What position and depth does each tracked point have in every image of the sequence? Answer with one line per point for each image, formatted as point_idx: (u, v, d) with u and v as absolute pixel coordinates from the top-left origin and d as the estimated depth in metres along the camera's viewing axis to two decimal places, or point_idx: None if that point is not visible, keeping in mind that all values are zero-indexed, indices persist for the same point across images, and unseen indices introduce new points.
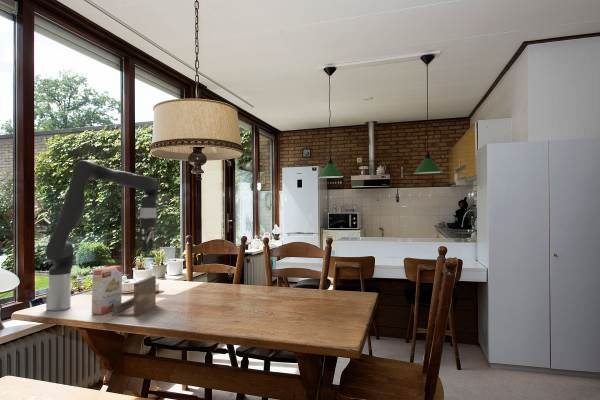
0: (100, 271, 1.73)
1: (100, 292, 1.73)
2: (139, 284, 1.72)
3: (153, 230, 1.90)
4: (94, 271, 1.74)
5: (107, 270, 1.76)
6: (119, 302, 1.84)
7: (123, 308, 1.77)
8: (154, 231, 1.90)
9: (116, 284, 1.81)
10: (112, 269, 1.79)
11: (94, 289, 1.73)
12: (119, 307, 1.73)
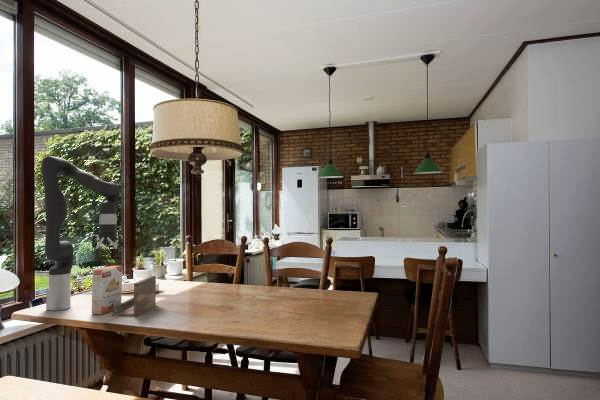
0: (100, 271, 1.73)
1: (100, 292, 1.73)
2: (139, 284, 1.72)
3: None
4: (94, 271, 1.74)
5: (107, 270, 1.76)
6: (119, 302, 1.84)
7: (123, 308, 1.77)
8: None
9: (116, 284, 1.81)
10: (112, 269, 1.79)
11: (94, 289, 1.73)
12: (119, 307, 1.73)
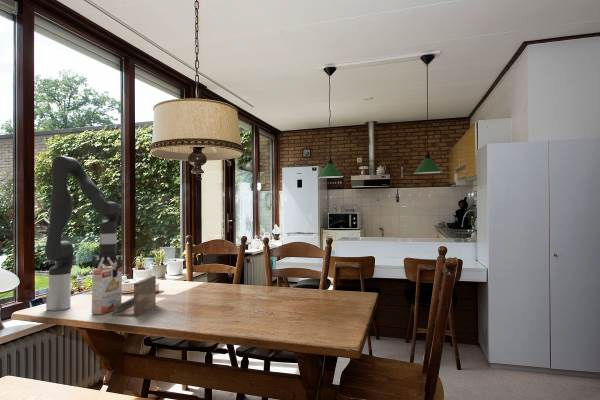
0: (100, 271, 1.73)
1: (100, 292, 1.73)
2: (139, 284, 1.72)
3: None
4: (94, 271, 1.74)
5: (107, 270, 1.76)
6: (119, 302, 1.84)
7: (123, 308, 1.77)
8: None
9: (116, 284, 1.81)
10: (112, 269, 1.79)
11: (94, 289, 1.73)
12: (119, 307, 1.73)
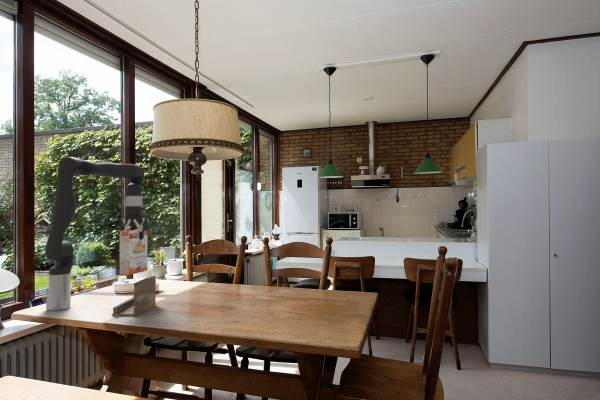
0: (127, 232, 1.74)
1: (128, 253, 1.74)
2: (139, 284, 1.72)
3: None
4: (121, 232, 1.75)
5: (134, 231, 1.77)
6: (145, 265, 1.85)
7: (123, 308, 1.77)
8: None
9: (142, 247, 1.82)
10: (138, 231, 1.80)
11: (121, 250, 1.74)
12: (119, 307, 1.73)
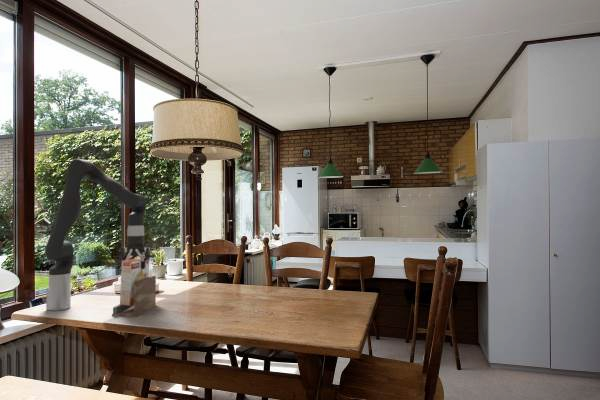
0: (129, 262, 1.74)
1: (129, 283, 1.73)
2: (139, 284, 1.72)
3: None
4: (123, 262, 1.74)
5: (136, 261, 1.77)
6: None
7: (123, 308, 1.77)
8: None
9: (143, 276, 1.82)
10: (140, 261, 1.80)
11: (123, 280, 1.74)
12: (119, 307, 1.73)
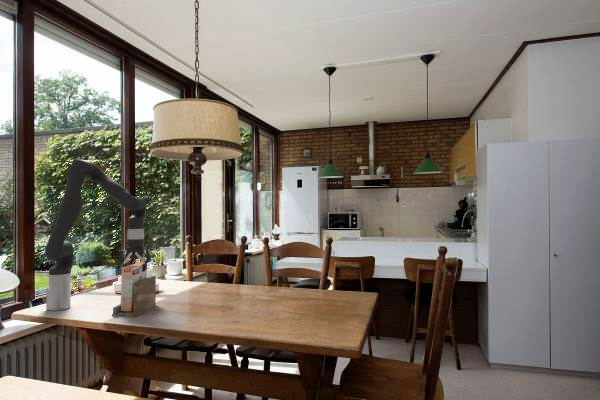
0: (130, 268, 1.74)
1: (130, 289, 1.74)
2: (139, 284, 1.72)
3: None
4: (123, 268, 1.74)
5: (136, 267, 1.77)
6: None
7: None
8: None
9: None
10: (140, 266, 1.80)
11: (123, 286, 1.74)
12: (119, 307, 1.73)
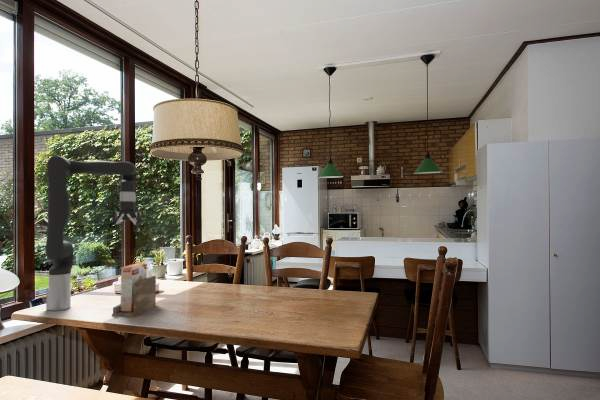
0: (130, 268, 1.74)
1: (130, 289, 1.74)
2: (139, 284, 1.72)
3: None
4: (123, 269, 1.74)
5: (136, 267, 1.77)
6: None
7: None
8: None
9: None
10: (139, 266, 1.80)
11: (123, 286, 1.74)
12: (119, 307, 1.73)
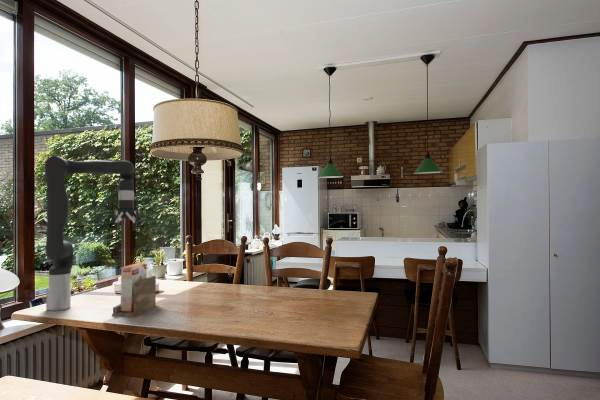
0: (130, 268, 1.74)
1: (130, 289, 1.74)
2: (139, 284, 1.72)
3: None
4: (123, 269, 1.74)
5: (136, 267, 1.77)
6: None
7: None
8: None
9: None
10: (139, 266, 1.80)
11: (123, 286, 1.74)
12: (119, 307, 1.73)
